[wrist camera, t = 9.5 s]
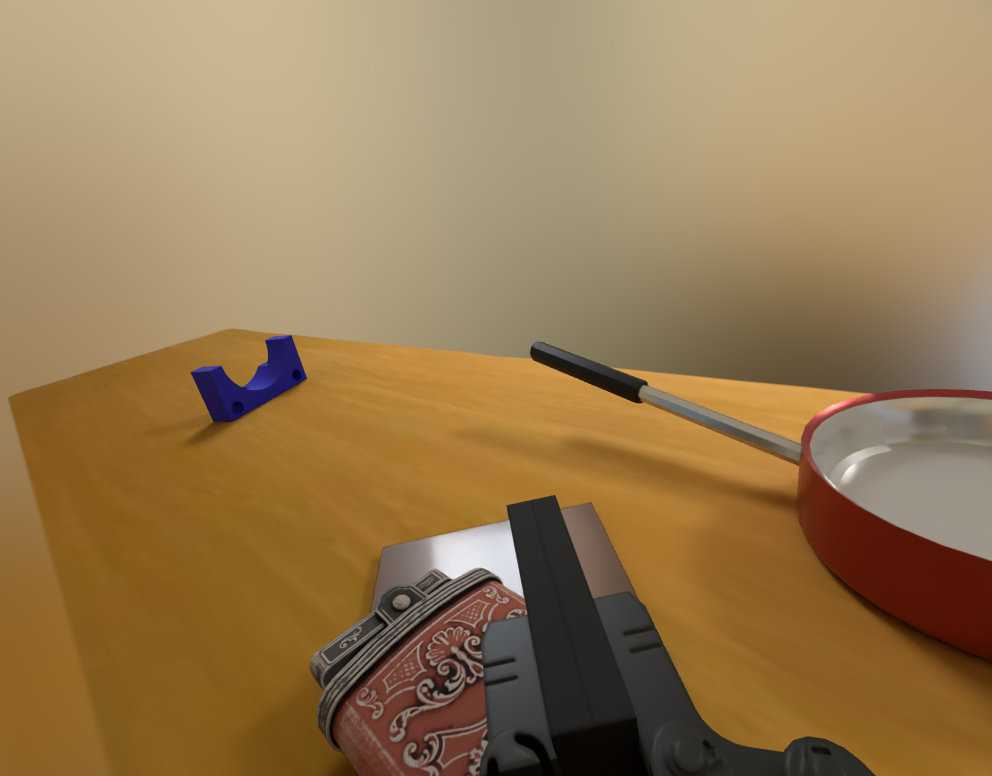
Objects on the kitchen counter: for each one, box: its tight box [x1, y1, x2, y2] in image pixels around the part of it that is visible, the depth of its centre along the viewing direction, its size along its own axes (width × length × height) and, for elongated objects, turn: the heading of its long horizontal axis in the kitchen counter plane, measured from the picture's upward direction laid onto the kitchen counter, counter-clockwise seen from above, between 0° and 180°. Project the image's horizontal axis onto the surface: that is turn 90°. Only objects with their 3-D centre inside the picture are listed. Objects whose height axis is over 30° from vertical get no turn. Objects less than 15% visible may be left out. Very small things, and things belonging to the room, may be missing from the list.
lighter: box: [310, 567, 527, 776], centre depth 16 cm, size 8×3×10 cm
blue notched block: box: [191, 335, 307, 421], centre depth 56 cm, size 12×4×6 cm, turn 159°
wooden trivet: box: [370, 502, 639, 614], centre depth 22 cm, size 12×10×1 cm
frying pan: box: [530, 342, 992, 660], centre depth 25 cm, size 32×13×6 cm, turn 45°
